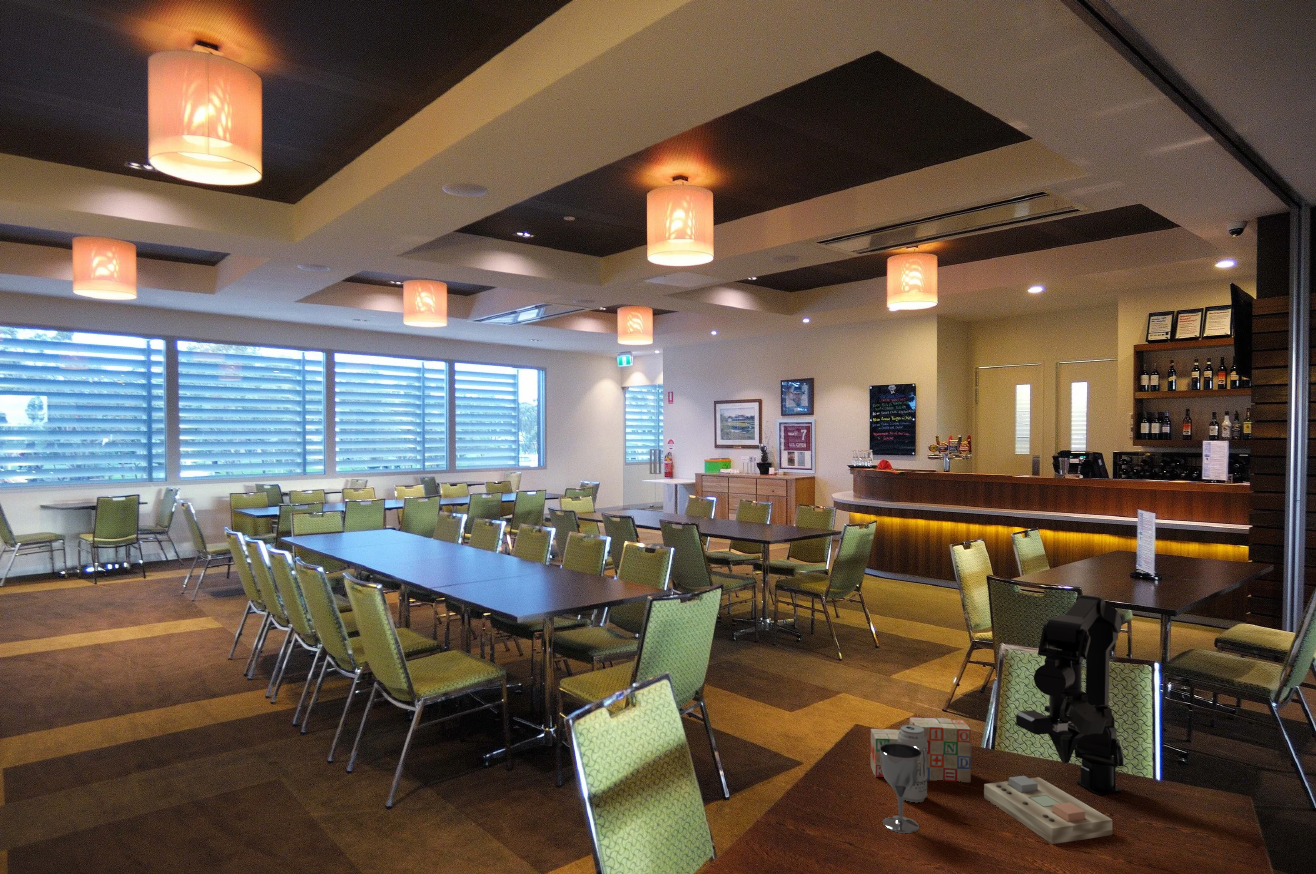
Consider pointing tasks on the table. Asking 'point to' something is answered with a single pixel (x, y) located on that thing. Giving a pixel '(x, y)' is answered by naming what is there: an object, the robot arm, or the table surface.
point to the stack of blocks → (933, 748)
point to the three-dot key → (1023, 784)
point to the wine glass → (900, 779)
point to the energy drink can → (918, 739)
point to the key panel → (1047, 812)
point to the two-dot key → (1069, 812)
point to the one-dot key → (1044, 801)
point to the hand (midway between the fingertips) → (1065, 762)
